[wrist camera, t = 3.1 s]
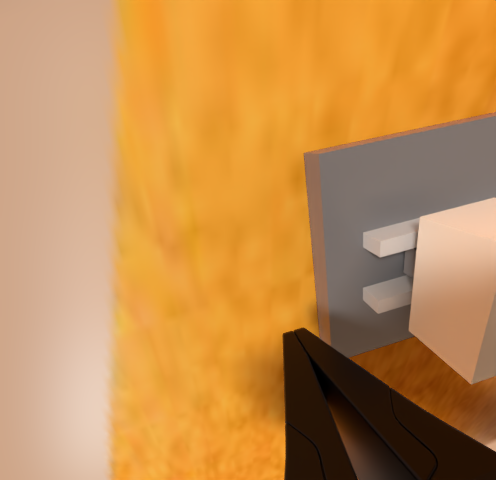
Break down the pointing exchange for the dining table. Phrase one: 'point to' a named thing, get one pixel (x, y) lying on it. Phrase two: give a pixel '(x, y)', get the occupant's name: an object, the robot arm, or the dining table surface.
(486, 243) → the block
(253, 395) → the dining table surface
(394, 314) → the grey slider panel
